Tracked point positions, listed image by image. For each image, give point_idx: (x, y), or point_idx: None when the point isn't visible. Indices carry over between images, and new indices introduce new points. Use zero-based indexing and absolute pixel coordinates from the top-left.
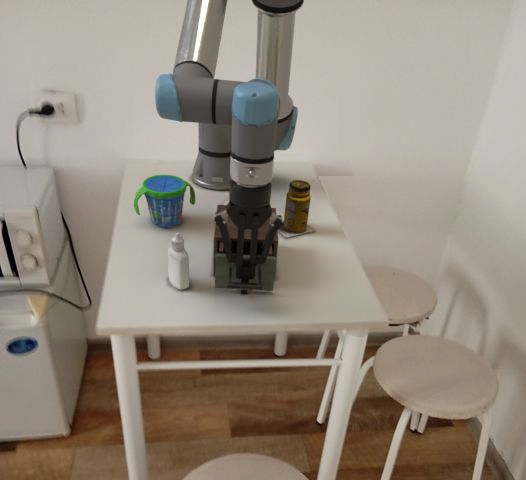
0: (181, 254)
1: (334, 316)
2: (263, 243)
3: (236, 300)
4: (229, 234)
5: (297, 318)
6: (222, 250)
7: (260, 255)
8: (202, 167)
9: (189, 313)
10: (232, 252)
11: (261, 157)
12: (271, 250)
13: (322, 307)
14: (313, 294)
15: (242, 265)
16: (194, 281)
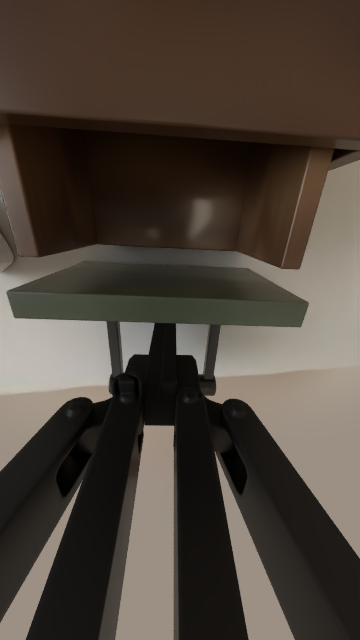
0: None
1: (353, 352)
2: (268, 508)
3: None
4: (5, 28)
5: (275, 361)
6: (33, 251)
7: (228, 438)
8: None
9: (52, 356)
10: (81, 429)
11: None
12: (307, 232)
13: (344, 324)
14: (348, 273)
15: (145, 417)
16: None
